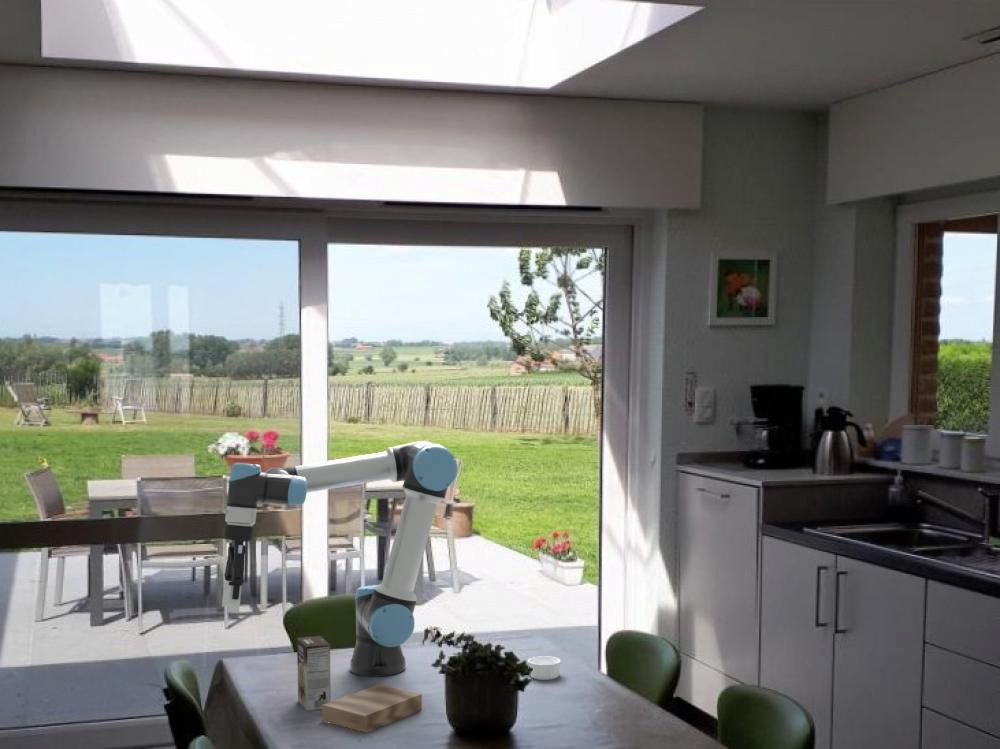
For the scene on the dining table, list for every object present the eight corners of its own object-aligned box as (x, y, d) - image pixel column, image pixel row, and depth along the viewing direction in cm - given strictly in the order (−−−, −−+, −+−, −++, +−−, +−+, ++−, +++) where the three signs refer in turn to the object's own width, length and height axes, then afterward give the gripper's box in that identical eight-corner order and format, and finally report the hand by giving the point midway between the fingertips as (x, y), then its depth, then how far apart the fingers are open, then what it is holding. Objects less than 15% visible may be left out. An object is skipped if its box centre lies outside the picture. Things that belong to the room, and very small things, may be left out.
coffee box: (297, 701, 301) (296, 637, 300) (322, 697, 303) (321, 634, 303) (306, 711, 292) (304, 646, 292) (331, 708, 295) (330, 643, 294)
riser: (379, 699, 301) (379, 684, 301) (421, 710, 292) (421, 694, 292) (322, 721, 285) (322, 704, 285) (365, 732, 277) (365, 715, 276)
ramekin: (526, 671, 325) (526, 656, 324) (559, 671, 325) (559, 655, 325) (528, 681, 316) (528, 665, 316) (562, 680, 316) (562, 664, 316)
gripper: (219, 521, 312) (210, 603, 309) (229, 525, 288) (219, 614, 286) (248, 523, 314) (239, 605, 312) (261, 527, 291) (251, 616, 288)
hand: (230, 609), depth 299 cm, fingers open, 13 cm apart
